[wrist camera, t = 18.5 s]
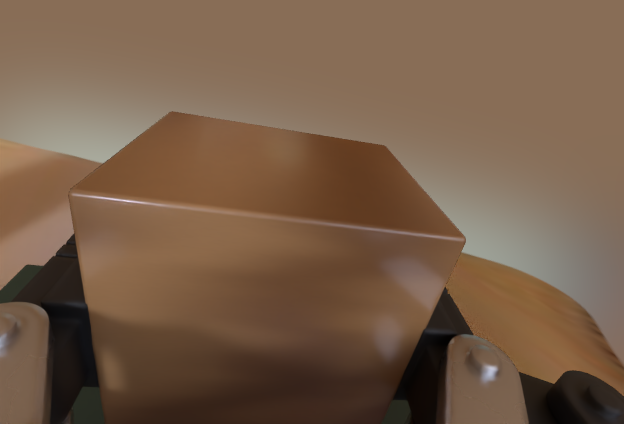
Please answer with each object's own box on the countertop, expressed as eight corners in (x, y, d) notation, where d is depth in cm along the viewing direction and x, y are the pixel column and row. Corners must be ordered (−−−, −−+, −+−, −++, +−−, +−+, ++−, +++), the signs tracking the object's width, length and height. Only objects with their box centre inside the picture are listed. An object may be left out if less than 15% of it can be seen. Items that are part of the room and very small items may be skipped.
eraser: (119, 526, 9) (64, 189, 5) (171, 365, 14) (169, 110, 9) (337, 522, 10) (469, 238, 6) (319, 372, 14) (386, 145, 10)
